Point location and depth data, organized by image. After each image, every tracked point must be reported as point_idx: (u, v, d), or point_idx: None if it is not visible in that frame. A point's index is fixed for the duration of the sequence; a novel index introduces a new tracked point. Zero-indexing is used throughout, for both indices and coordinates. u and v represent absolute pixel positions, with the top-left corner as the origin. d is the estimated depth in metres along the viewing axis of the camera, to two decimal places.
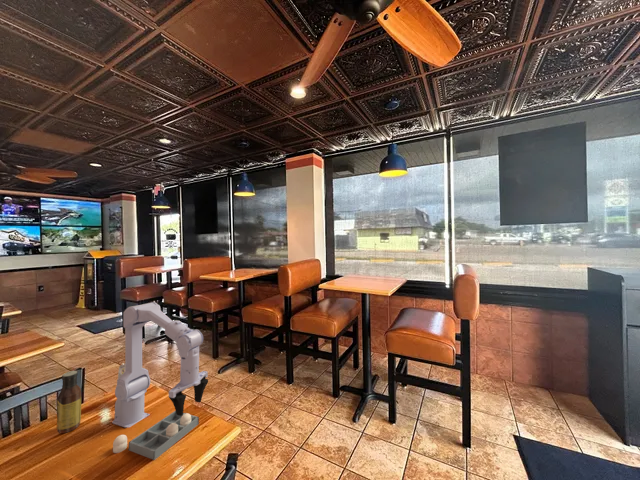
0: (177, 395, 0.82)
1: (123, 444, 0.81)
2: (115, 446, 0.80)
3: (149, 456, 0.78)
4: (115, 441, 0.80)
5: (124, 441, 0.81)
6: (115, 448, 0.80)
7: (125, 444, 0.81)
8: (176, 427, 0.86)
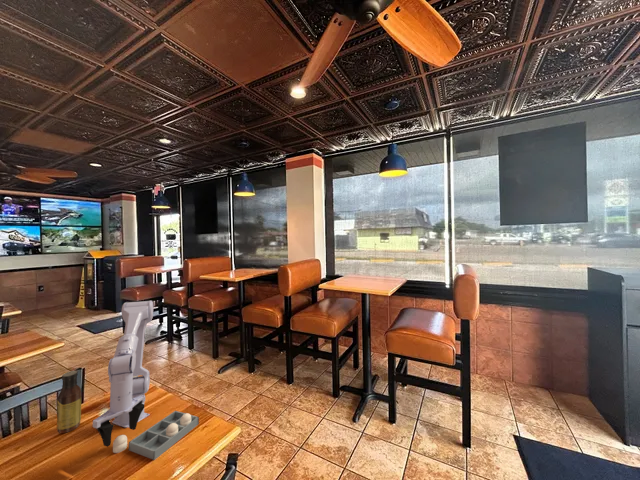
0: (103, 425, 0.76)
1: (123, 444, 0.81)
2: (115, 446, 0.80)
3: (149, 456, 0.78)
4: (115, 441, 0.80)
5: (124, 441, 0.81)
6: (115, 448, 0.80)
7: (125, 444, 0.81)
8: (176, 427, 0.86)
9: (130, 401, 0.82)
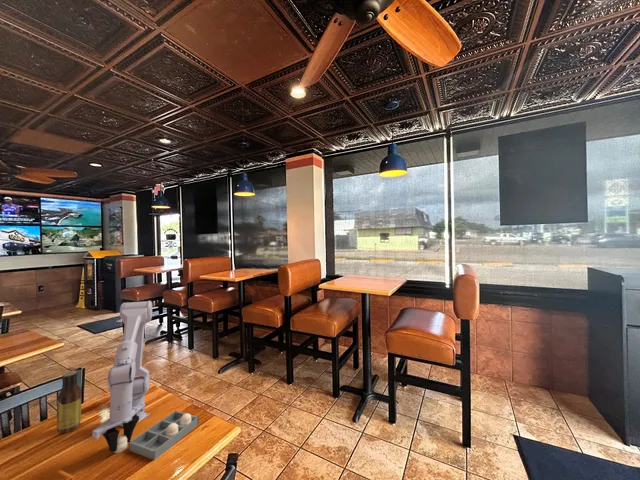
0: None
1: (123, 444, 0.81)
2: None
3: (149, 456, 0.78)
4: None
5: (124, 441, 0.81)
6: None
7: (125, 444, 0.81)
8: (176, 427, 0.86)
9: (130, 410, 0.82)
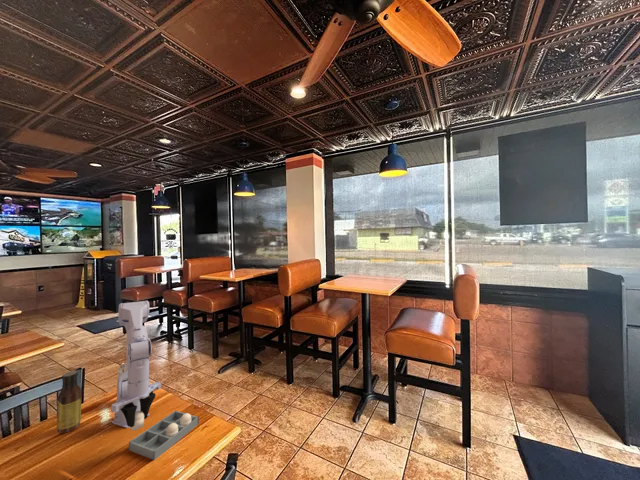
0: (121, 409, 0.77)
1: (140, 420, 0.82)
2: None
3: (149, 456, 0.78)
4: None
5: (141, 417, 0.82)
6: None
7: (142, 420, 0.82)
8: (176, 427, 0.86)
9: (147, 387, 0.83)
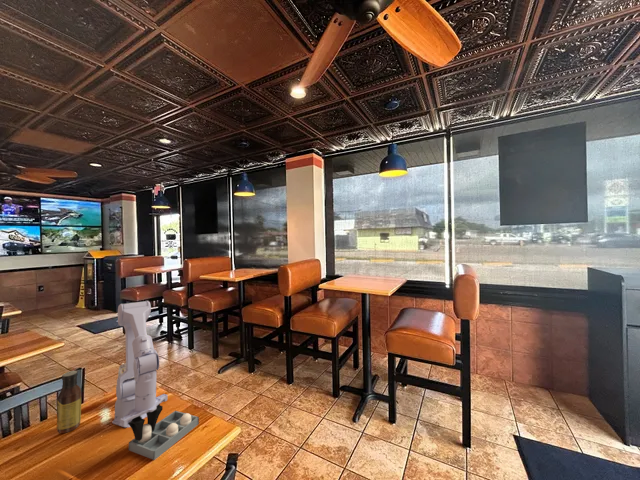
0: (129, 423, 0.77)
1: (148, 433, 0.82)
2: None
3: (149, 456, 0.78)
4: None
5: (149, 430, 0.82)
6: None
7: (150, 433, 0.83)
8: (176, 427, 0.86)
9: (154, 400, 0.83)
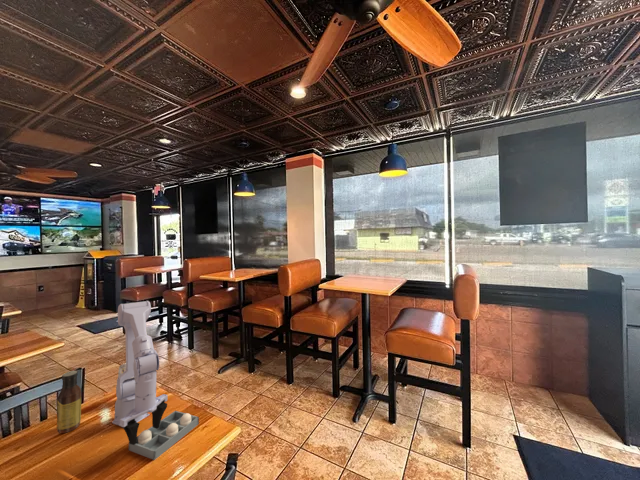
0: (129, 423, 0.77)
1: (148, 439, 0.82)
2: (140, 441, 0.81)
3: (149, 456, 0.78)
4: (140, 436, 0.81)
5: (149, 436, 0.82)
6: (140, 443, 0.81)
7: (150, 439, 0.83)
8: (176, 427, 0.86)
9: (154, 400, 0.83)
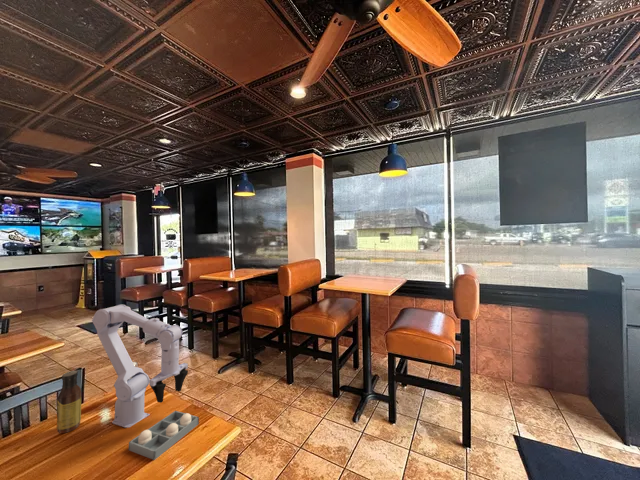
0: (157, 384, 0.90)
1: (148, 439, 0.82)
2: (140, 441, 0.81)
3: (149, 456, 0.78)
4: (140, 436, 0.81)
5: (149, 436, 0.82)
6: (140, 443, 0.81)
7: (150, 439, 0.83)
8: (176, 427, 0.86)
9: (177, 366, 0.96)
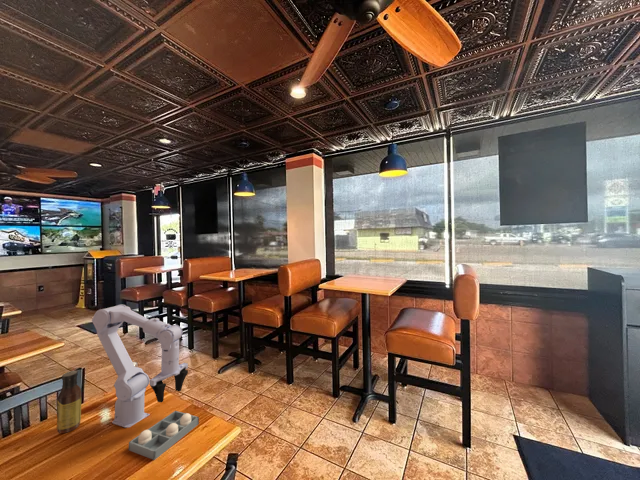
0: (157, 384, 0.90)
1: (148, 439, 0.82)
2: (140, 441, 0.81)
3: (149, 456, 0.78)
4: (140, 436, 0.81)
5: (149, 436, 0.82)
6: (140, 443, 0.81)
7: (150, 439, 0.83)
8: (176, 427, 0.86)
9: (177, 366, 0.96)
